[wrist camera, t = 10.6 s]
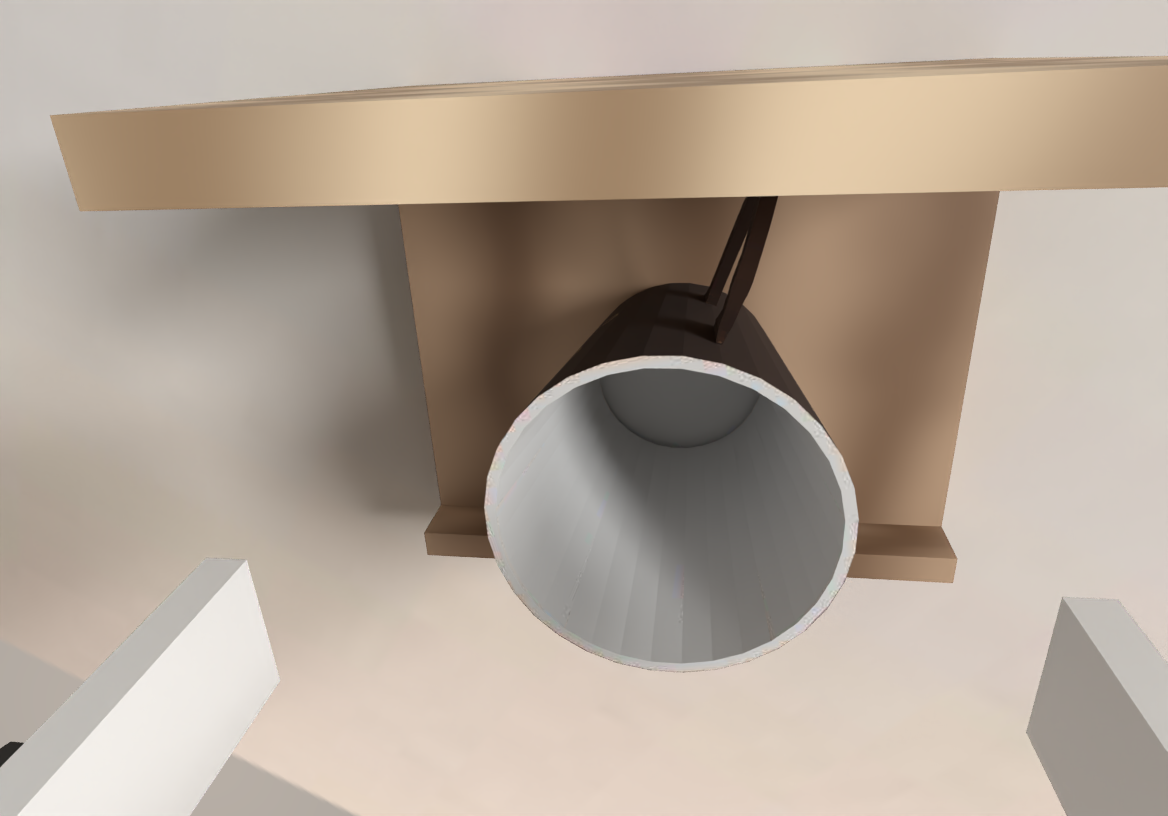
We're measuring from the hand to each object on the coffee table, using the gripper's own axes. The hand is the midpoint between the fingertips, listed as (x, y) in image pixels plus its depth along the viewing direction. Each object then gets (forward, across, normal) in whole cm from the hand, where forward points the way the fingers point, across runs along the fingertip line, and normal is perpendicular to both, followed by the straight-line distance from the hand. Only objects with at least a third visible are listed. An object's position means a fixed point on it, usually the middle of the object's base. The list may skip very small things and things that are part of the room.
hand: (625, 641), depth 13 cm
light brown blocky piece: (+18, +1, 0) cm, 18 cm away
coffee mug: (+15, +2, 0) cm, 15 cm away
